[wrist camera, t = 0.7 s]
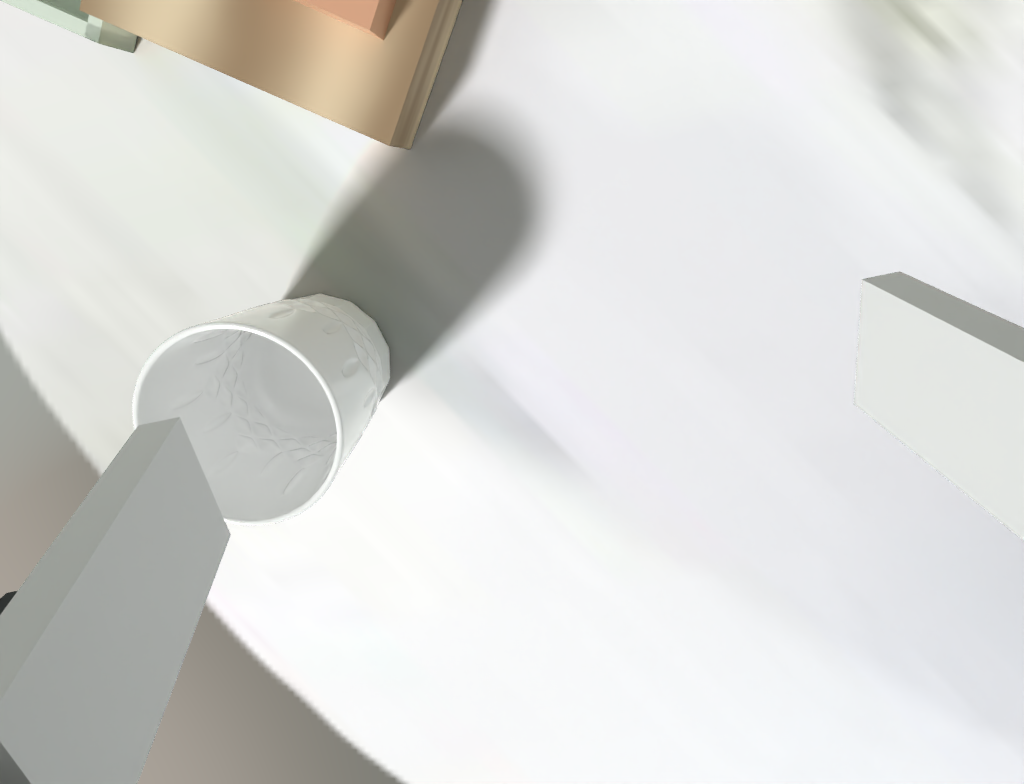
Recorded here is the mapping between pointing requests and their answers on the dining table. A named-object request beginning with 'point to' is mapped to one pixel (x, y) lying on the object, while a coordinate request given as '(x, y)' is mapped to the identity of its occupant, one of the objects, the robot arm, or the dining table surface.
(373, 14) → the tile
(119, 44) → the tray
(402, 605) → the dining table surface
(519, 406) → the dining table surface
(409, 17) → the tan square panel
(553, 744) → the dining table surface
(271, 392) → the white cup
